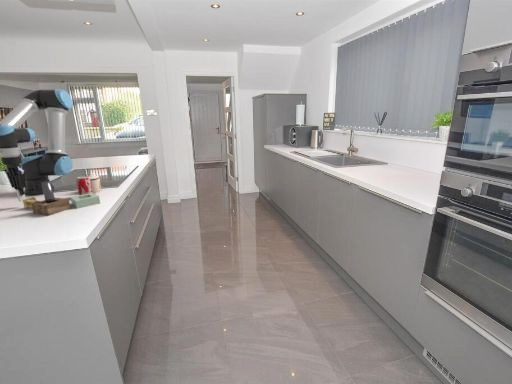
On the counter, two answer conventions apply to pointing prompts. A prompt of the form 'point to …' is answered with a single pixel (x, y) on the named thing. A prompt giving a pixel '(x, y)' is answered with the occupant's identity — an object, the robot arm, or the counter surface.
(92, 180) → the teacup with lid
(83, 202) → the green square frame
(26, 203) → the tan t-shaped block
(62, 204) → the socket block
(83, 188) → the soda can
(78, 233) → the counter surface
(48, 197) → the dark grey peg
